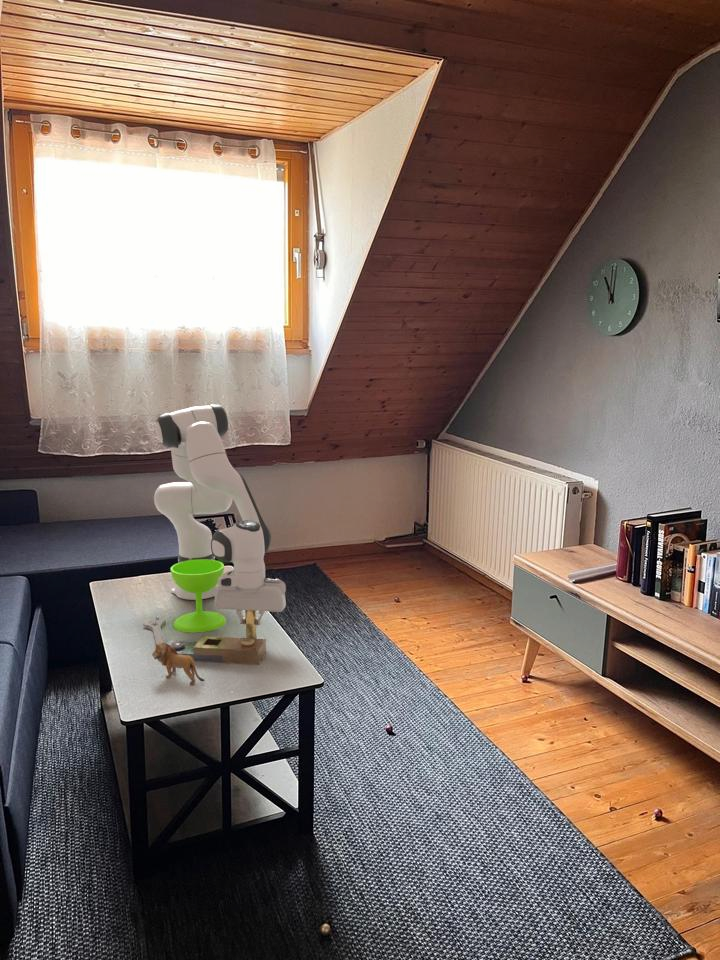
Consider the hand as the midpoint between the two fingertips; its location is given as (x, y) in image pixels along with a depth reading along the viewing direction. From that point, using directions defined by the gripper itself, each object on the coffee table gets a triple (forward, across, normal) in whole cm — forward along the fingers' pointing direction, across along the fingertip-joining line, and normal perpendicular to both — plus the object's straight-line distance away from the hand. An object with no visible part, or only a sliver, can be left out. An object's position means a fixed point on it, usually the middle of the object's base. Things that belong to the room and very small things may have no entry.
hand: (250, 623), depth 215 cm
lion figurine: (+6, +13, +25) cm, 29 cm away
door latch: (+6, +8, +10) cm, 14 cm away
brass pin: (+5, 0, 0) cm, 5 cm away
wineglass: (+6, +20, -13) cm, 24 cm away
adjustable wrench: (+6, +30, -2) cm, 30 cm away
